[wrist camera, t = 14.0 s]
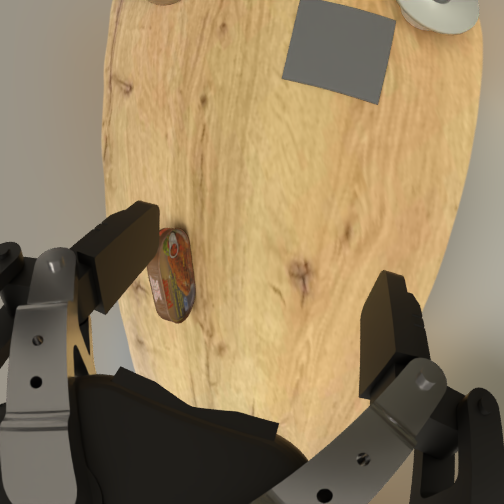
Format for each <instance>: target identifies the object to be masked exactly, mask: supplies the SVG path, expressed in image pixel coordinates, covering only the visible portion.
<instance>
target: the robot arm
mask: <svg viewBox="0 0 504 504" xmlns="http://www.w3.org/2000/svg"><path fill="white" fill-rule="evenodd" d="M147 1H149V2H151V3H154V4H156V5H169V4H173V3H175V2H178V1H180V0H147ZM159 219H160V210H159V207H158V205H155V204H151V203H147V202H143V201H137V202H135V203H134V204H133V205H131V206H130V207H129V208H127V209H126V210H122V211H119V212H117V213H114V214H112V215H110V216H109V217H108V218H106V219H105V220H104V221H103V222H102V224H99V225H98V226H96V227H95V229H94V230H91V231H90V232H89V233H88V234H87V235H85V236H84V237H83V238H82V239H80V240H79V241H78V242H77V243H76V244H74V245H73V246H72V247H71V248H70V249H68V248H62V247H59V248H53V249H50V250H47V251H45V252H44V253H42V254H41V255H40V256H39V257H38V258H29V257H23V255H22V251H21V248H20V246H19V245H18V244H17V243H15V242H6V243H2V244H0V296H1V299H2V301H3V303H4V305H3V306H2V308H1V309H0V368H1V367H2V366H3V364H4V363H5V361H6V360H7V359H8V357H9V367H8V378H7V399H6V403H3V404H0V504H368V503H369V502H370V501H371V499H372V498H373V497H374V496H375V495H376V494H377V493H378V492H379V491H380V490H381V489H382V487H383V486H384V485H385V484H386V483H387V482H388V481H389V479H390V478H391V477H392V476H393V474H394V473H395V472H396V471H397V470H398V468H399V467H400V466H401V465H402V463H403V462H404V461H405V460H406V458H407V457H408V456H409V454H410V453H411V452H412V450H413V449H414V463H413V476H412V485H411V494H410V502H409V504H504V443H503V433H502V425H501V418H500V412H499V406H498V403H497V402H496V399H495V398H494V396H493V395H492V394H491V393H490V392H489V391H487V390H486V389H483V388H475V389H473V390H472V391H470V392H469V393H468V394H467V395H466V396H465V395H463V394H461V393H459V392H457V391H455V390H453V389H452V388H450V387H448V386H447V380H446V377H445V374H444V373H443V371H442V369H441V368H440V367H439V366H438V365H437V364H436V363H434V362H433V361H431V359H430V353H429V347H428V342H427V336H426V331H425V329H424V322H423V319H422V312H421V308H420V305H419V303H418V302H417V300H416V298H415V297H414V295H413V294H411V293H408V292H407V288H406V283H405V279H404V277H403V276H402V275H399V274H395V273H392V272H389V271H386V270H383V271H382V272H381V273H380V274H379V276H378V278H377V280H376V282H375V284H374V286H373V288H372V290H371V292H370V294H369V296H368V298H367V300H366V302H365V304H364V306H363V309H362V313H361V319H360V380H359V398H364V399H369V400H370V406H369V407H368V408H367V409H366V410H365V411H364V412H363V413H362V414H361V415H360V416H359V417H358V418H357V419H356V420H355V421H354V422H353V423H352V424H351V425H350V426H348V427H347V428H346V429H345V430H344V431H343V432H342V433H341V434H340V435H339V436H337V437H336V438H335V439H334V440H333V441H332V442H331V443H330V444H328V445H327V446H326V447H325V448H324V449H323V450H321V451H320V452H319V453H318V454H317V455H315V456H314V457H313V458H312V459H311V460H309V461H308V460H307V458H306V457H305V456H304V454H303V453H302V452H301V451H300V450H299V449H298V448H297V447H295V446H294V445H293V444H292V443H291V442H289V441H288V440H286V439H285V438H283V437H281V436H279V435H278V434H276V433H277V429H278V425H279V423H276V422H272V421H268V420H265V419H261V418H257V417H254V416H250V415H247V414H244V413H240V412H236V411H224V410H214V409H205V408H197V407H192V406H190V405H188V404H186V403H185V402H183V401H182V400H180V399H179V398H177V397H176V396H175V395H173V394H172V393H170V392H169V391H167V390H166V389H165V388H163V387H162V386H160V385H159V384H158V383H156V382H155V381H152V380H150V379H148V378H145V377H143V376H141V375H138V374H136V373H134V372H132V371H130V370H127V369H125V368H123V367H120V368H119V369H118V371H117V373H116V374H115V375H114V376H113V375H104V374H96V370H95V365H94V358H93V345H92V329H91V318H90V314H91V313H92V312H93V310H96V311H98V312H100V313H103V314H105V315H106V314H107V313H108V311H109V310H110V309H111V308H112V307H113V305H114V304H115V303H116V302H117V300H118V299H119V298H120V297H121V296H122V294H123V293H124V292H125V291H126V290H127V288H128V287H129V286H130V285H131V284H132V283H133V281H134V280H135V279H136V278H137V277H138V275H139V274H140V273H141V272H142V271H143V270H144V269H145V267H146V266H147V265H148V264H149V263H150V262H151V260H152V259H153V258H154V257H155V255H156V253H157V251H158V247H159ZM457 451H458V456H459V459H458V460H459V466H458V469H459V470H458V477H457V479H456V481H455V483H454V475H455V453H456V452H457Z"/></svg>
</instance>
